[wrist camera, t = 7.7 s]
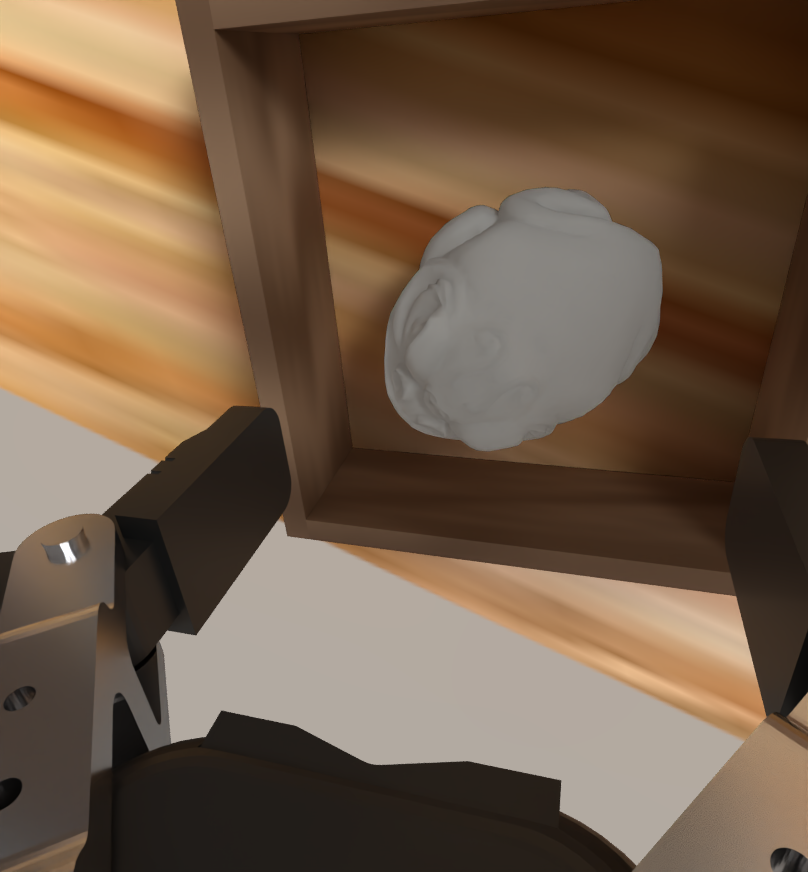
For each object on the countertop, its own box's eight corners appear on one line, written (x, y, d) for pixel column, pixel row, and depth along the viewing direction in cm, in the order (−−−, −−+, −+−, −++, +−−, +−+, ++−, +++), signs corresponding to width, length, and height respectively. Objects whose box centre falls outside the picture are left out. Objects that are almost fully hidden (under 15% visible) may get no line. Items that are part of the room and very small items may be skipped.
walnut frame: (267, 2, 17) (172, -12, 13) (916, -74, 13) (1038, -124, 9) (335, 463, 25) (287, 536, 21) (758, 504, 21) (791, 603, 17)
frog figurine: (389, 255, 20) (300, 339, 14) (593, 108, 16) (585, 139, 11) (494, 405, 21) (452, 534, 16) (698, 301, 18) (740, 418, 12)
